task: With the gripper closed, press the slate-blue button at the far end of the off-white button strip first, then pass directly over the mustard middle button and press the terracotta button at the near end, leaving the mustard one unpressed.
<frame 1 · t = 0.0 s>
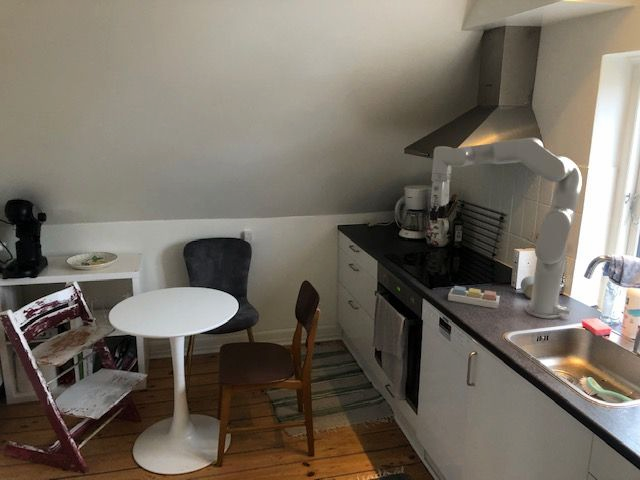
hand: (437, 218, 212), 31 cm above the worktop, tool pointing down, fingers open, 9 cm apart
terracotta button: (489, 296, 204), point 3 cm above the worktop, slide at 0.0 cm
ceramic mug: (533, 296, 214), on the worktop
slate button: (459, 291, 209), point 3 cm above the worktop, slide at 0.0 cm
mustard button: (474, 294, 206), point 3 cm above the worktop, slide at 0.0 cm
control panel: (473, 300, 207), on the worktop
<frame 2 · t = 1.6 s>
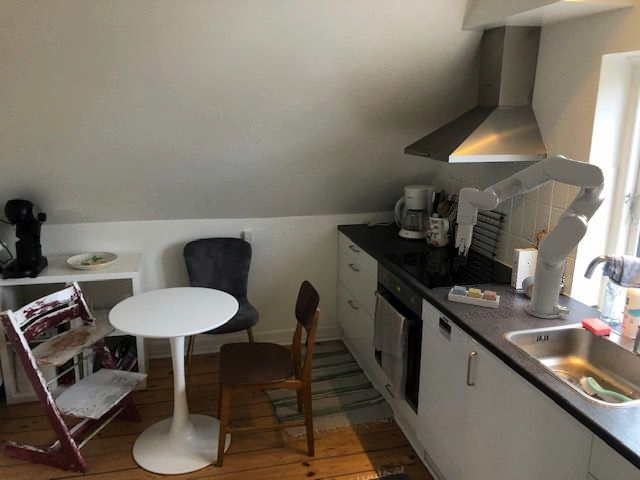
hand: (462, 263, 205), 15 cm above the worktop, tool pointing down, fingers closed
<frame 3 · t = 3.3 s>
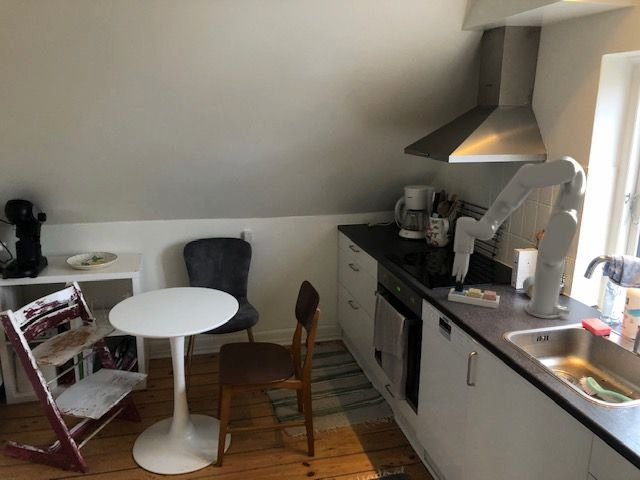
hand: (458, 290, 209), 3 cm above the worktop, tool pointing down, fingers closed
slate button: (458, 294, 209), point 2 cm above the worktop, slide at 1.3 cm
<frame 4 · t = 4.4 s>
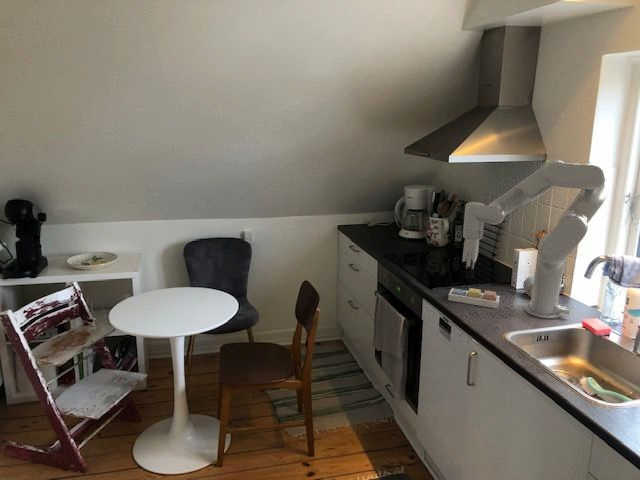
hand: (469, 277, 206), 10 cm above the worktop, tool pointing down, fingers closed
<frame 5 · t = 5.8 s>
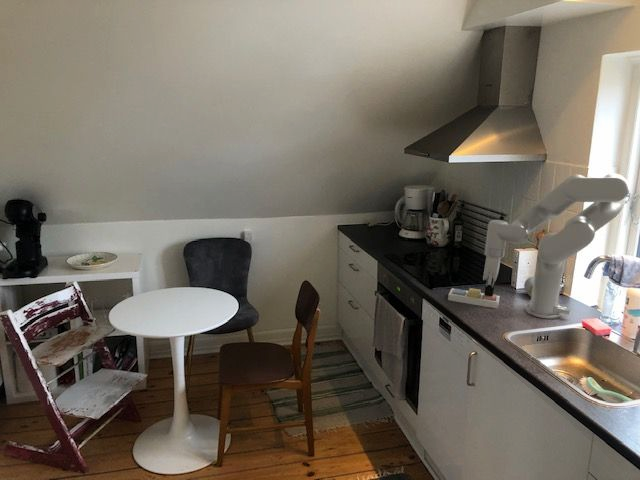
hand: (488, 295, 204), 4 cm above the worktop, tool pointing down, fingers closed
terracotta button: (489, 299, 204), point 2 cm above the worktop, slide at 1.1 cm, touching gripper
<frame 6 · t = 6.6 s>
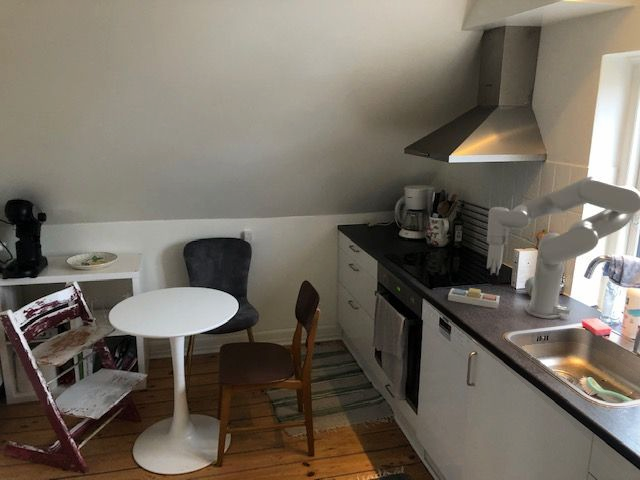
hand: (493, 283, 202), 9 cm above the worktop, tool pointing down, fingers closed
terracotta button: (489, 299, 204), point 2 cm above the worktop, slide at 1.3 cm
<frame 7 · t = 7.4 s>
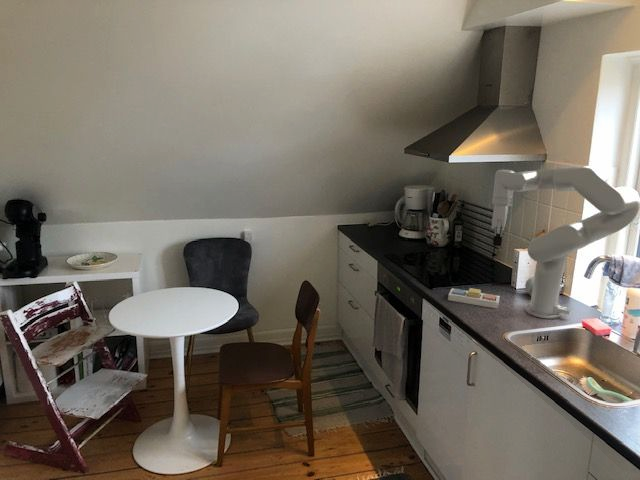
hand: (496, 245, 208), 22 cm above the worktop, tool pointing down, fingers closed
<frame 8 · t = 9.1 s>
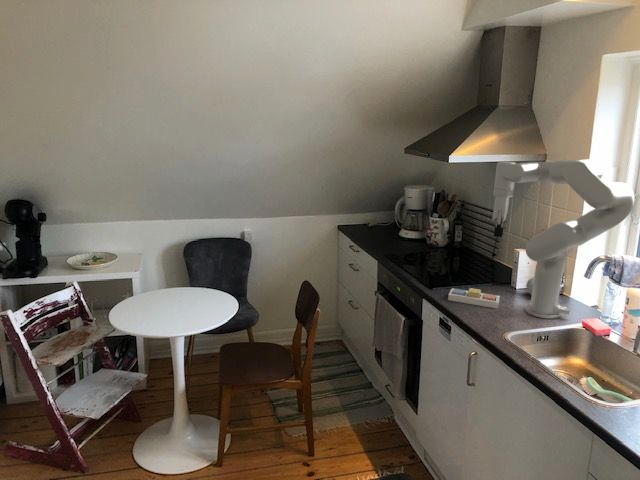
hand: (498, 236, 210), 25 cm above the worktop, tool pointing down, fingers closed
at the end: slate button slide at 1.3 cm; terracotta button slide at 1.3 cm; mustard button slide at 0.0 cm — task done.
